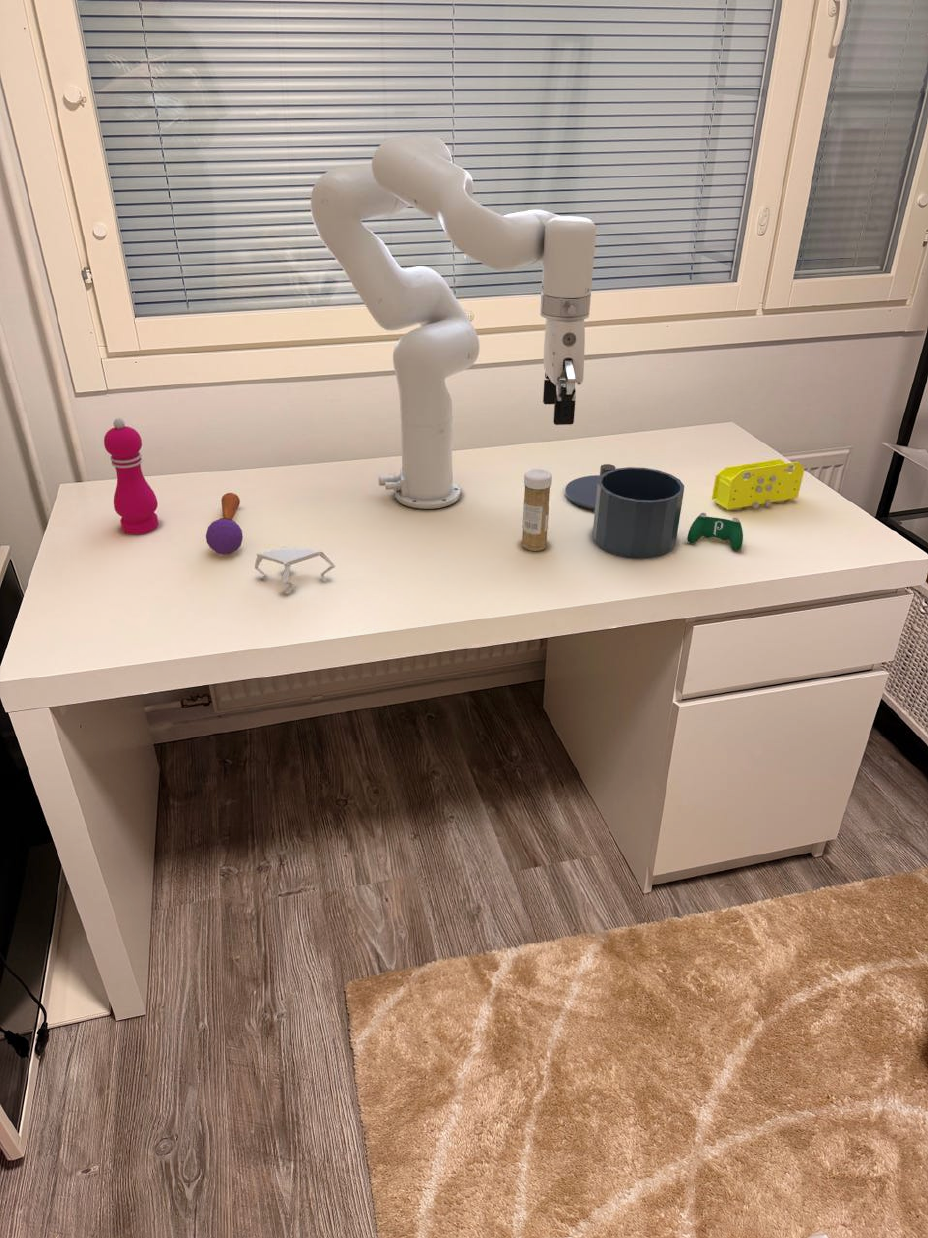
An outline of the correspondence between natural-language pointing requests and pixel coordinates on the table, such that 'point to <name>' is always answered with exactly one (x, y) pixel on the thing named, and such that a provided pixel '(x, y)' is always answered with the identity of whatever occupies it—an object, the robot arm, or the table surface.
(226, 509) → the purple maraca
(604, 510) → the pot
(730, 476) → the yellow toy chassis
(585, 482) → the lid
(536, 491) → the sprinkles bottle
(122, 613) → the table surface
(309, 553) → the grey toy table
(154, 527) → the pepper mill
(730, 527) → the gaming controller
